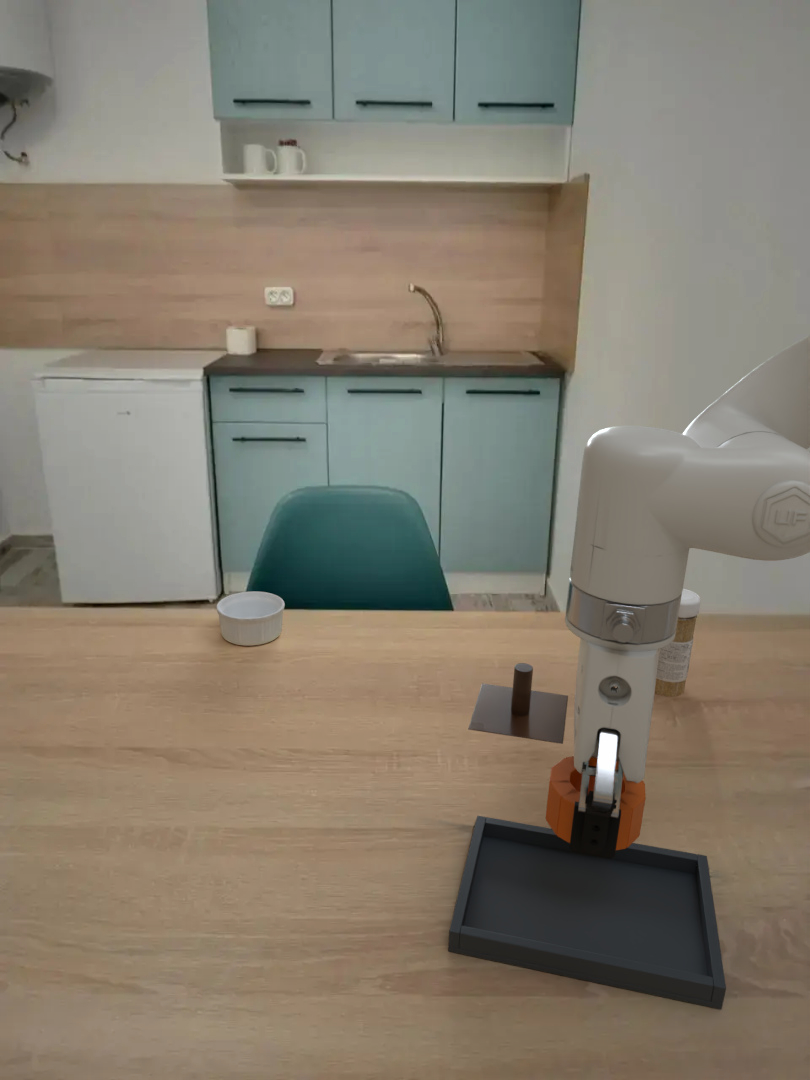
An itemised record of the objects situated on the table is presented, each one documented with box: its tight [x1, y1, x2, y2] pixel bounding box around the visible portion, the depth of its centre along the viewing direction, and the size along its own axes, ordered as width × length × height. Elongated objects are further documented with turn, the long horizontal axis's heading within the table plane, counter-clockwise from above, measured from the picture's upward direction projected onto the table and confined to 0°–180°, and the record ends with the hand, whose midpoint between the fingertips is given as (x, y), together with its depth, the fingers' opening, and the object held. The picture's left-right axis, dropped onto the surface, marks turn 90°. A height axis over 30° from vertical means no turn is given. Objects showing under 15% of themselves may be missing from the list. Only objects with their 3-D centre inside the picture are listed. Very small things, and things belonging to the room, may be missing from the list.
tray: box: [447, 815, 727, 1010], centre depth 66 cm, size 20×14×2 cm
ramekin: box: [216, 590, 286, 647], centre depth 110 cm, size 9×9×4 cm
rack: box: [468, 662, 569, 745], centre depth 91 cm, size 10×10×7 cm
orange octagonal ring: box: [545, 755, 647, 850], centre depth 63 cm, size 7×7×4 cm
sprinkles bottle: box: [655, 588, 701, 698], centre depth 95 cm, size 5×5×14 cm
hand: (593, 817), depth 63 cm, fingers closed on orange octagonal ring, 7 cm apart
